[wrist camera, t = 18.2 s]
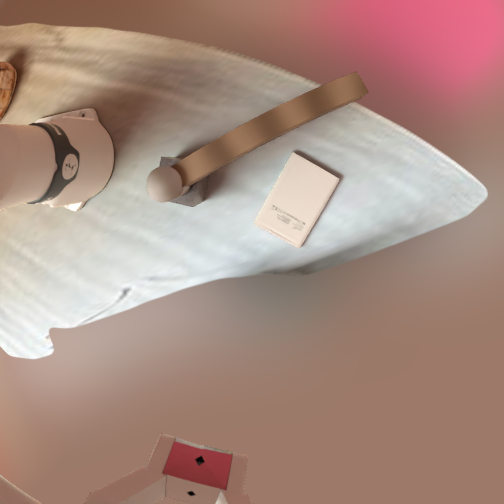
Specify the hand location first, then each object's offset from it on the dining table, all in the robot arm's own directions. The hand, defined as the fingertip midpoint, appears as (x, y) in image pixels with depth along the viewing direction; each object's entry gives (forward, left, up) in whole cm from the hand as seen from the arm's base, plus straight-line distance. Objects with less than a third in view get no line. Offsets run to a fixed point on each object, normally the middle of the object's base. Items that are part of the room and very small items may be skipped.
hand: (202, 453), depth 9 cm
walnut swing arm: (-4, +12, -35) cm, 37 cm away
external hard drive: (+4, +5, -42) cm, 42 cm away
